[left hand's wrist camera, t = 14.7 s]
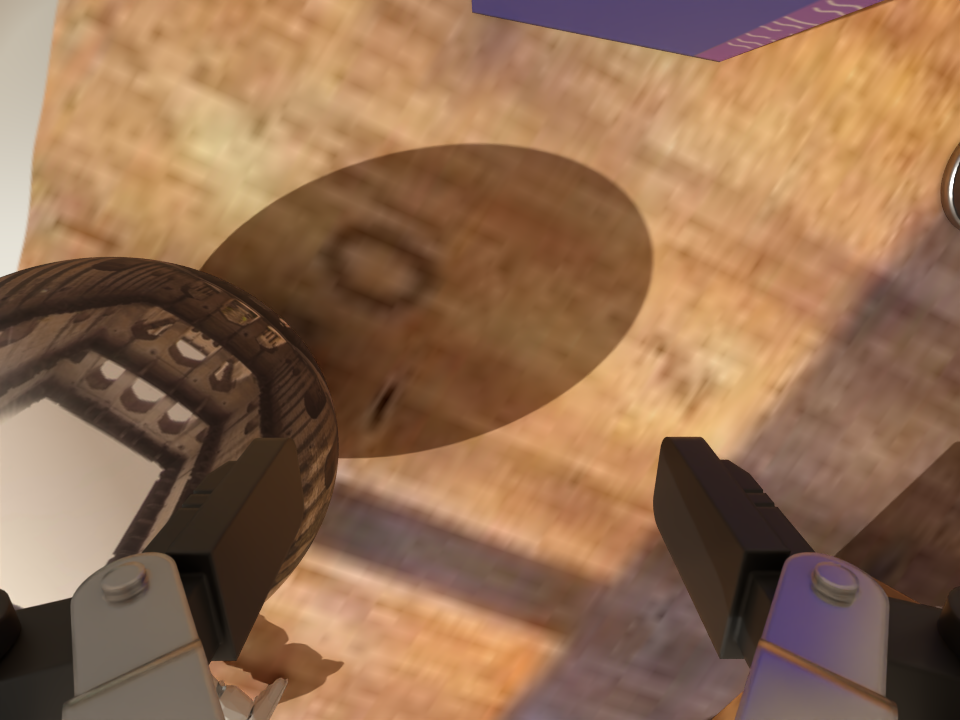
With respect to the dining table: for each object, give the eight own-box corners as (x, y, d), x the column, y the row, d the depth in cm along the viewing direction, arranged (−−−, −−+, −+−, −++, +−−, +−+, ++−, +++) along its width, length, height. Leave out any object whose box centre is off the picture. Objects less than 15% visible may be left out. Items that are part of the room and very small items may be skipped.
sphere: (24, 388, 46) (-443, 631, 23) (168, 159, 39) (-291, 169, 16) (267, 541, 52) (95, 856, 29) (428, 366, 45) (374, 594, 22)
